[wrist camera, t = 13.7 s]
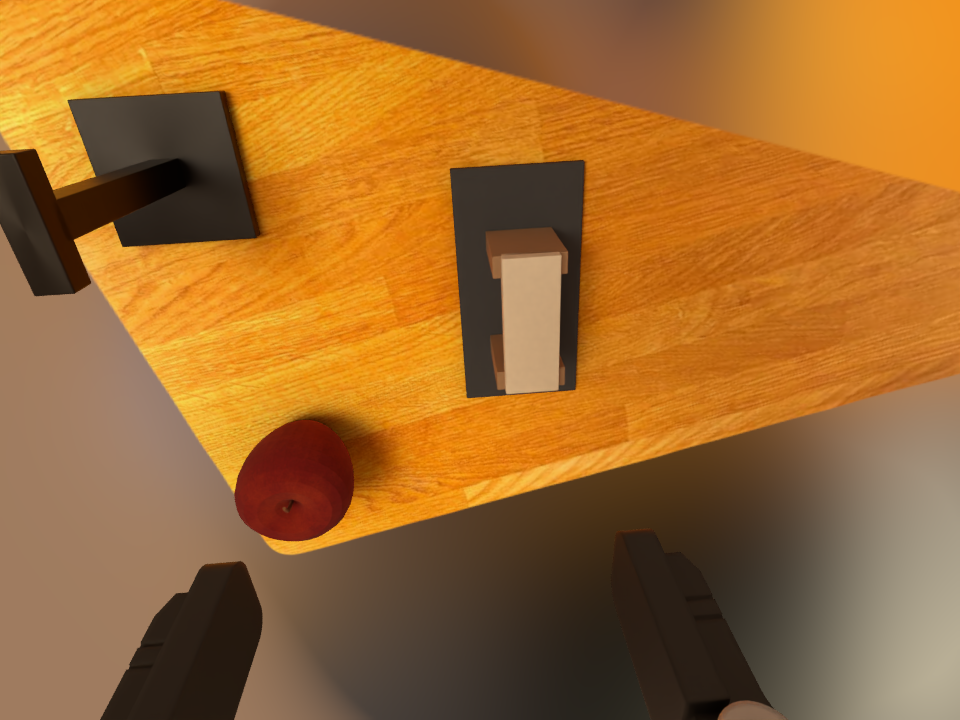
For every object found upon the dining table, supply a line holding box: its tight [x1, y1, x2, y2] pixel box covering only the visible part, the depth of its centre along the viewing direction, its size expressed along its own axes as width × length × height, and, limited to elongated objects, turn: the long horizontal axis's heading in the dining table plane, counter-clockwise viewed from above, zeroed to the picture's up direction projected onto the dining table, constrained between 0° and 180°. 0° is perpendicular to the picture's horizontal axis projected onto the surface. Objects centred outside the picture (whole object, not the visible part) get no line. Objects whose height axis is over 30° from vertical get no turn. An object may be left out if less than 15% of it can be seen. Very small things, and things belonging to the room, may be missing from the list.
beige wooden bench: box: [485, 227, 568, 394], centre depth 42 cm, size 11×5×7 cm, turn 3°
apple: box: [234, 420, 354, 541], centre depth 47 cm, size 10×10×10 cm
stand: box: [0, 91, 260, 296], centre depth 32 cm, size 10×10×16 cm
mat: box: [450, 160, 584, 398], centre depth 45 cm, size 20×10×1 cm, turn 3°
